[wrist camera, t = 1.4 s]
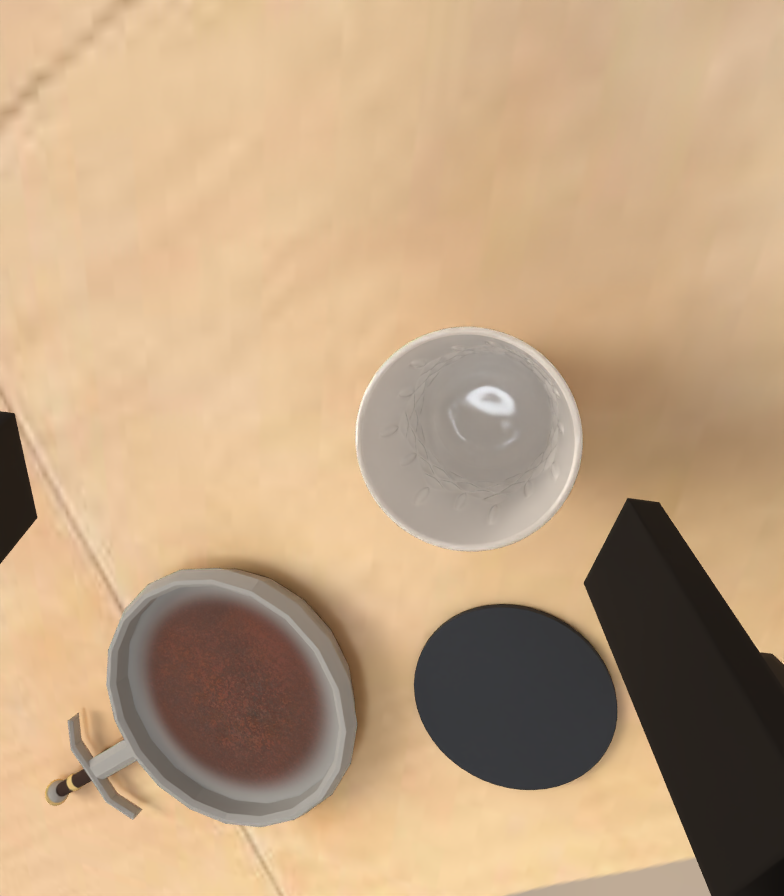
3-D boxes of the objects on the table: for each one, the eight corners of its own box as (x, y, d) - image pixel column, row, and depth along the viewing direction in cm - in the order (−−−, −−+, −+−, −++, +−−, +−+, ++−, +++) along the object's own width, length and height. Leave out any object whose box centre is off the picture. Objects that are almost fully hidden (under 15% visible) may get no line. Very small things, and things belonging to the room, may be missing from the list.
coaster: (608, 602, 29) (609, 606, 28) (623, 793, 30) (624, 798, 30) (404, 604, 32) (402, 607, 31) (427, 777, 33) (426, 782, 33)
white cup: (526, 512, 29) (516, 590, 20) (393, 446, 30) (323, 490, 21) (598, 374, 27) (628, 386, 17) (452, 310, 28) (406, 289, 19)
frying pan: (-33, 712, 40) (234, 520, 30) (5, 688, 42) (261, 506, 33) (100, 910, 39) (409, 779, 30) (129, 873, 42) (421, 743, 33)
